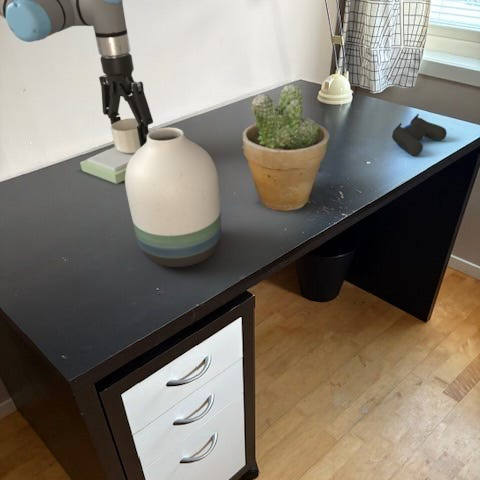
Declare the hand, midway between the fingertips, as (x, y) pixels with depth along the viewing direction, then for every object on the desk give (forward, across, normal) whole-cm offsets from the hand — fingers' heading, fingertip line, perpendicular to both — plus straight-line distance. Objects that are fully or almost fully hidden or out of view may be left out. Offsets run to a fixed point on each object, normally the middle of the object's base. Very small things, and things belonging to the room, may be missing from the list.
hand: (133, 146), depth 130 cm
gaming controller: (+4, -60, -51) cm, 78 cm away
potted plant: (+4, -47, -4) cm, 47 cm away
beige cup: (0, 0, 0) cm, 0 cm away
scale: (+4, 0, 0) cm, 4 cm away
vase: (+4, -42, +26) cm, 50 cm away
